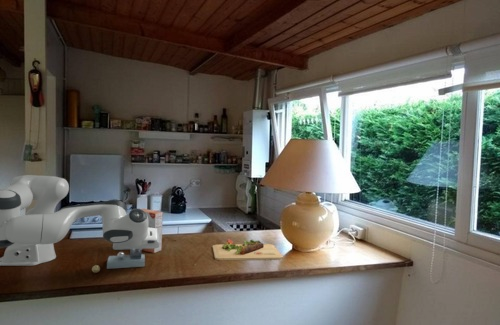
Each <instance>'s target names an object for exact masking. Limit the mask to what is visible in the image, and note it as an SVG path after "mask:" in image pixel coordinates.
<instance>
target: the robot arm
mask: <svg viewBox="0 0 500 325" xmlns="http://www.w3.org/2000/svg"><path fill="white" fill-rule="evenodd" d="M69 186H70V185H69V182H68V181H67V179H66V178H63V177H60V176H59V177H58V176H55V175H35V174H25V175H24V174H23V175H19V176H18V175H17V176H15V177H13V179H12V180H11V182H10V183H9V185H8V186H5V187H3V188H1V189H0V249H3V248H5V251H4V254H3V256H2V257H0V266H31V267H32V266H37V265H39V264H43V263H47V262H51V261H53V260H55V259H56V258H57V255H56V251H55V247H54V246H55V245H54V244H56V243H59V242H60V241H62V240H63V239H65V237H66V236H67V234H68V233H69V231H70V229H71V227H72V225H73V224H74V222H75V221H77V220H79V219H82V218H88V217H96V216H100V217H101V220H102V222H101V223H102V237H103V239H104V240H105V241H107V242H108V243H109V242H110V243H112V249H113V250H115V251H118V250H119V251H122V250H130V249H131V250H132V251H133V252H136V249H137V252H140V250H142V249H146V248H158V247H160V239H159V234H158V231H157V229H156V228H151V227H148V223H149V222H148V216H147V214H146V213H145V212H144V211H143V210H141V209H142V208H133V209H131V210H130V211H129V212H128V207H127V204H126V203H125V202H123V201H122V200H120V199H108V200H105V201H100V202H93V203H92V202H91V203H83V204H82V203H81V204H75V205H69V206H68V205H67V206H63V207H61V208H59V210H58V211H56V212H55V209H56V207H57V205H58V204H59V202H61V200H63V199H65V197H67V195H68V193H69V190H70V187H69ZM33 200H36V203H35V205H34V207H32V208H29V207H30V205H31V204H32V203H33ZM27 208H29V209H28V210H27V211H26V212H25V214H24V215H23V214H22V215H21V213H22V212H21V211H22V210H24V209H27ZM142 251H143V250H142Z"/></svg>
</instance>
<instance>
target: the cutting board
mask: <svg viewBox="0 0 500 325" xmlns="http://www.w3.org/2000/svg"><path fill="white" fill-rule="evenodd" d="M212 251H213V256H214V260H215V261H272V260H273V261H277V260H279V261H280V260H282V259H284V256H283V254H281V252H280V251H279V249H278V248H276V246H275V245H274V244H271V243H270V244H268V243H266V244H264V243H263V242H261V241H260V240H254V239H252V238H251V239H250V240H249V241H248V240H245V241H243V244H238V243H237V244H236V243H234V241H232V240H231V239H230V238H228V239H227V240H226V242H225V243H224V244H214V245H212Z"/></svg>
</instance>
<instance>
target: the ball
mask: <svg viewBox="0 0 500 325" xmlns="http://www.w3.org/2000/svg"><path fill="white" fill-rule="evenodd" d="M125 255H126V254H125V252H124V251H119V252H118V253H117V255H116V256H117V257H118V258H119V259H123V258H124V256H125Z"/></svg>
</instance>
